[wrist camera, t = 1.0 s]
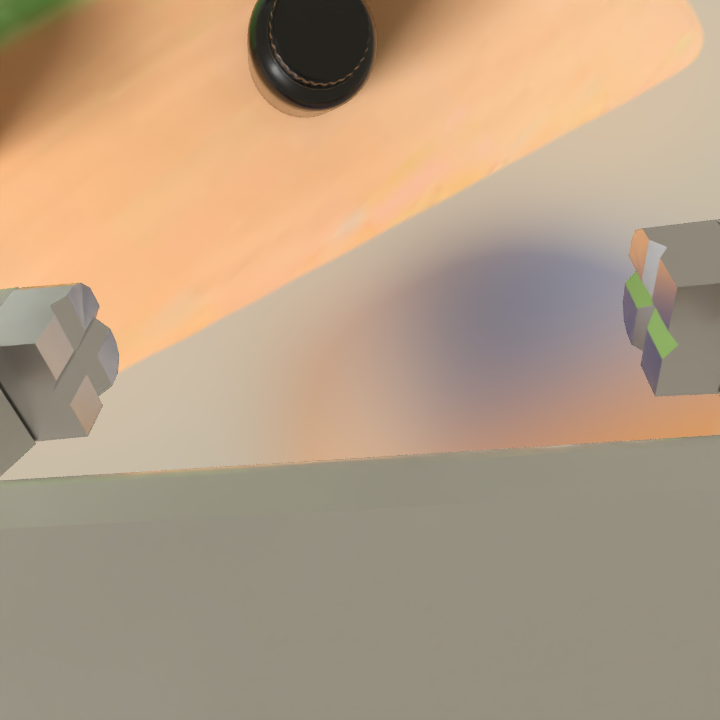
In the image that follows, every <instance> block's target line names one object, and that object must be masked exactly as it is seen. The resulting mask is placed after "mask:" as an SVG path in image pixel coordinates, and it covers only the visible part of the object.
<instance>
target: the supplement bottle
mask: <svg viewBox="0 0 720 720" xmlns="http://www.w3.org/2000/svg"><path fill="white" fill-rule="evenodd" d="M376 54H377V32H376V27H375V23H374V19H373V16H372V14H371V11H370V9H369V7H368V5H367V3H366V2H365V0H258V1H257V2H256V4H255V7H254V9H253V11H252V14H251V18H250V22H249V27H248V61H249V68H250V72H251V76H252V79H253V81H254V83H255V86H256V87H257V89H258V91H259V92H260V94H261V95H262V96H263V98H264V99H265V100H266V101H267V102H268V103H269V104H270V105H272V106H273V107H274V108H276V109H277V110H279V111H281V112H283V113H285V114H288V115H291V116H295V117H303V118H306V117H315V116H319V115H322V114H325V113H327V112H329V111H331V110H333V109H335V108H337V107H339V106H342V105H343V104H345V103H347V102H348V101H349V100H351V99H352V98H353V97H354V96H355V95H356V94H357V93H358V92H359V91H360V90H361V89H362V88H363V86H364V85H365V83H366V82H367V80H368V78H369V76H370V74H371V72H372V70H373V67H374V63H375V59H376Z"/></svg>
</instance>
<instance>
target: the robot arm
mask: <svg viewBox="0 0 720 720" xmlns="http://www.w3.org/2000/svg"><path fill="white" fill-rule="evenodd" d="M629 257H630V259H631V262H632V263H633V265H634V267H635V269H636V272H635V273H634V274H633V275H632V276H631V277H630V278H629V280H628V281H627V282H626V283H625V288H624V297H623V313H624V323H625V327H626V331H627V334H628V337H629V339H630V342H631V344H632V345H633V346H635V347H637V348H638V349H640V350H642V351H643V355H642V361H641V367H642V369H643V371H644V373H645V375H646V378H647V380H648V382H649V384H650V386H651V388H652V391H653V393H654V395H655V396H676V395H697V394H720V219H718V220H709V221H701V222H692V223H684V224H677V225H668V226H660V227H652V228H643V229H638V230H635V233H634V235H633V238H632V241H631V247H630V253H629ZM98 309H99V304H98V302H97V300H96V298H95V296H94V294H93V293H92V291H91V289H90V288H89V287H87V286H86V285H84V284H82V283H72V284H59V285H46V286H34V287H22V288H18V287H15V288H7V289H0V476H1V475H2V474H3V473H4V472H6V471H7V470H8V469H9V468H10V467H11V466H12V465H13V464H14V463H15V462H17V461H18V460H19V459H20V458H21V457H22V456H23V455H24V454H25V453H26V452H28V451H29V450H30V449H31V448H32V447H33V446H34V445H35V444H36V443H35V441H45V440H55V439H65V438H76V437H85V436H88V435H89V433H90V431H91V429H92V427H93V425H94V423H95V420H96V418H97V417H98V414H99V412H100V410H101V408H102V406H103V405H102V403H101V401H100V399H99V397H98V396H99V395H101V394H102V393H103V392H105V391H106V390H107V389H109V388H110V387H111V386H112V385H113V383H114V380H115V378H116V376H117V374H118V364H119V353H118V349H117V344H116V341H115V338H114V336H113V334H112V332H111V330H110V328H108V327H107V326H105V325H104V324H103V323H101V322H100V321H99V320H97V319H96V315H97V312H98ZM0 720H720V435H712V436H697V437H681V438H667V439H650V440H634V441H619V442H603V443H587V444H572V445H558V446H557V445H555V446H540V447H524V448H508V449H493V450H477V451H461V452H445V453H431V454H414V455H398V456H383V457H367V458H352V459H336V460H319V461H304V462H289V463H272V464H256V465H241V466H225V467H210V468H194V469H178V470H162V471H146V472H131V473H114V474H99V475H83V476H67V477H51V478H35V479H21V480H20V479H19V480H3V481H0Z"/></svg>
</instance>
